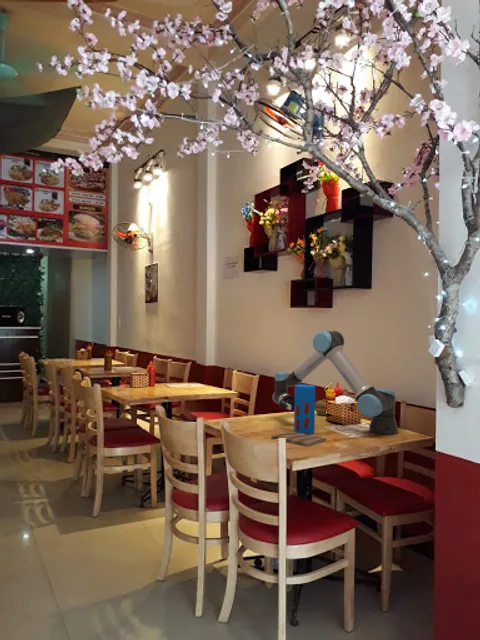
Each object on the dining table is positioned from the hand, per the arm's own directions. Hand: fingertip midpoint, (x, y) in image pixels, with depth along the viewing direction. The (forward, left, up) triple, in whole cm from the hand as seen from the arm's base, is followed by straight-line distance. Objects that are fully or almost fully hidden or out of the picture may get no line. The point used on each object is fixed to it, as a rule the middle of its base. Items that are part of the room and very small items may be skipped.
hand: (302, 407), depth 280 cm
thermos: (-2, 0, -14) cm, 14 cm away
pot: (+19, -50, -14) cm, 56 cm away
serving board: (-10, +17, -13) cm, 23 cm away
